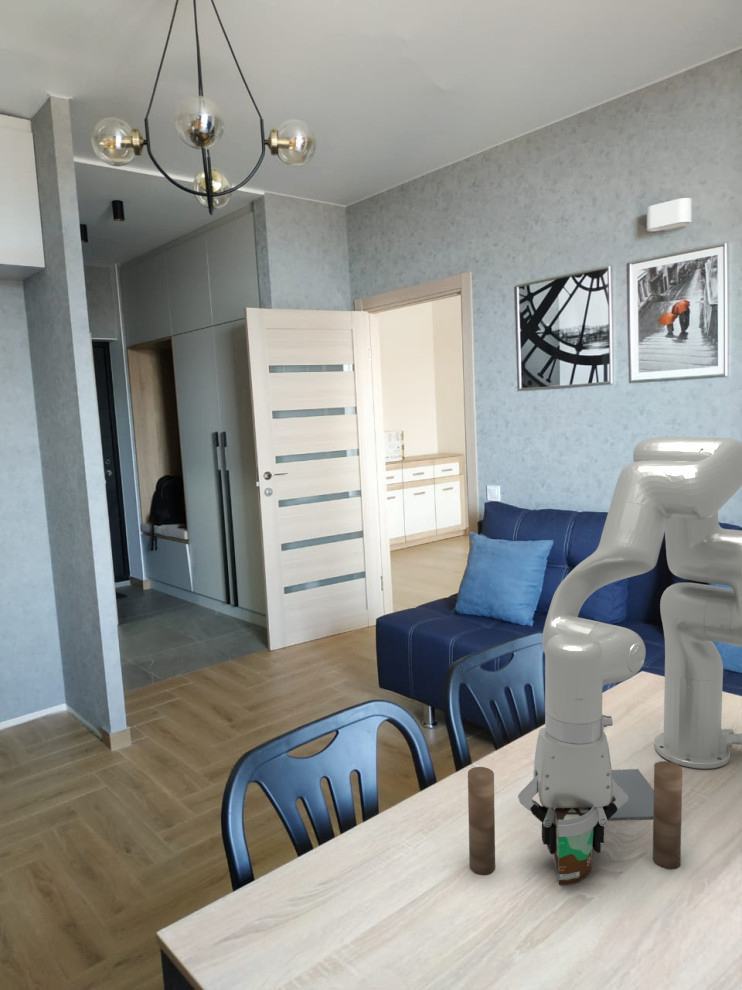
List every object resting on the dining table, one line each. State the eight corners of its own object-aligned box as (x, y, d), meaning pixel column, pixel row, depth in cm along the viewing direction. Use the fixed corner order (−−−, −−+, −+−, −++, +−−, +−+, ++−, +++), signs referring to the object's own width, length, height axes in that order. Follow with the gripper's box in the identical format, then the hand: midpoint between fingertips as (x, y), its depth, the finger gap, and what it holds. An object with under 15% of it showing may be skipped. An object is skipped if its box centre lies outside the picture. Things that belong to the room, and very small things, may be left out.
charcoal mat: (638, 771, 122) (638, 769, 122) (671, 818, 108) (671, 815, 108) (535, 774, 123) (535, 772, 122) (556, 821, 109) (555, 819, 109)
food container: (608, 894, 92) (606, 823, 91) (560, 892, 93) (558, 822, 92) (592, 837, 104) (590, 774, 103) (549, 835, 105) (548, 773, 104)
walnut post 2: (673, 852, 100) (675, 760, 99) (684, 868, 97) (687, 774, 95) (648, 853, 100) (650, 761, 99) (658, 869, 97) (660, 774, 95)
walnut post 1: (492, 857, 101) (491, 766, 99) (497, 874, 97) (496, 780, 95) (467, 858, 101) (466, 767, 99) (471, 875, 97) (469, 780, 95)
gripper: (626, 711, 100) (624, 830, 102) (505, 714, 100) (506, 832, 102) (646, 736, 92) (643, 863, 94) (516, 739, 92) (516, 866, 95)
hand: (572, 846), depth 98 cm, fingers closed on food container, 5 cm apart
